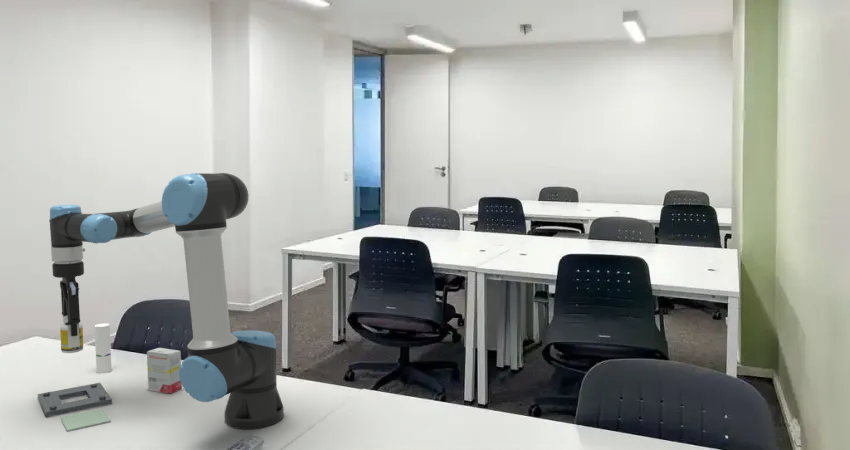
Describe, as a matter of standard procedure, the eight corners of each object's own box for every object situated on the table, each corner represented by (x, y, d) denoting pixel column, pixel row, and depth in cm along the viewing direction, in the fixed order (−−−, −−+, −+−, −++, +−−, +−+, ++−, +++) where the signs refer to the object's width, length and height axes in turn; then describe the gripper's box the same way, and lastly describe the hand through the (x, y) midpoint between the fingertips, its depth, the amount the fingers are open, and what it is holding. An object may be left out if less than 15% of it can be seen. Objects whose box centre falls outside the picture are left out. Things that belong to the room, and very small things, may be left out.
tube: (96, 369, 206) (94, 324, 204) (111, 368, 208) (109, 322, 206) (96, 373, 202) (94, 327, 200) (111, 372, 204) (109, 326, 202)
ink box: (182, 388, 190) (181, 349, 189) (171, 394, 186) (169, 354, 184) (159, 384, 193) (158, 346, 192) (147, 390, 189) (146, 351, 187)
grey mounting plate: (112, 403, 178) (111, 397, 178) (45, 417, 168) (45, 410, 168) (100, 387, 191) (99, 381, 190) (37, 398, 181) (37, 392, 181)
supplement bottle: (73, 354, 175) (72, 319, 174) (56, 353, 176) (54, 317, 175) (88, 348, 180) (86, 314, 179) (71, 347, 181) (69, 313, 180)
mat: (110, 422, 166) (110, 420, 166) (67, 431, 160) (67, 430, 160) (102, 409, 174) (102, 408, 174) (60, 418, 168) (60, 417, 168)
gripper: (89, 264, 170) (93, 350, 173) (77, 256, 185) (81, 334, 187) (57, 267, 166) (62, 355, 168) (47, 258, 180) (51, 339, 183)
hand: (72, 344), depth 178 cm, fingers closed on supplement bottle, 5 cm apart
